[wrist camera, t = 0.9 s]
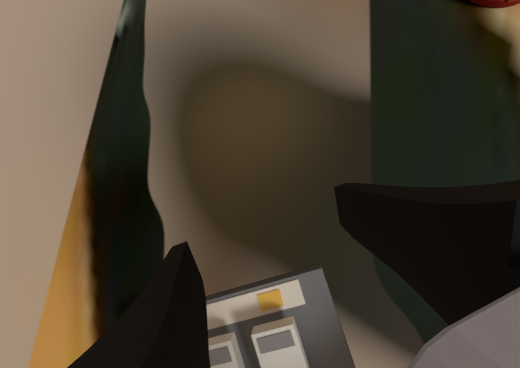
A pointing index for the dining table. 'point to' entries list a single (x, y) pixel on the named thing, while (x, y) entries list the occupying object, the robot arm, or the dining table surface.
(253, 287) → the switch unit
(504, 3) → the canned food
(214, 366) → the switch
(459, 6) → the dining table surface
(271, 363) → the switch
